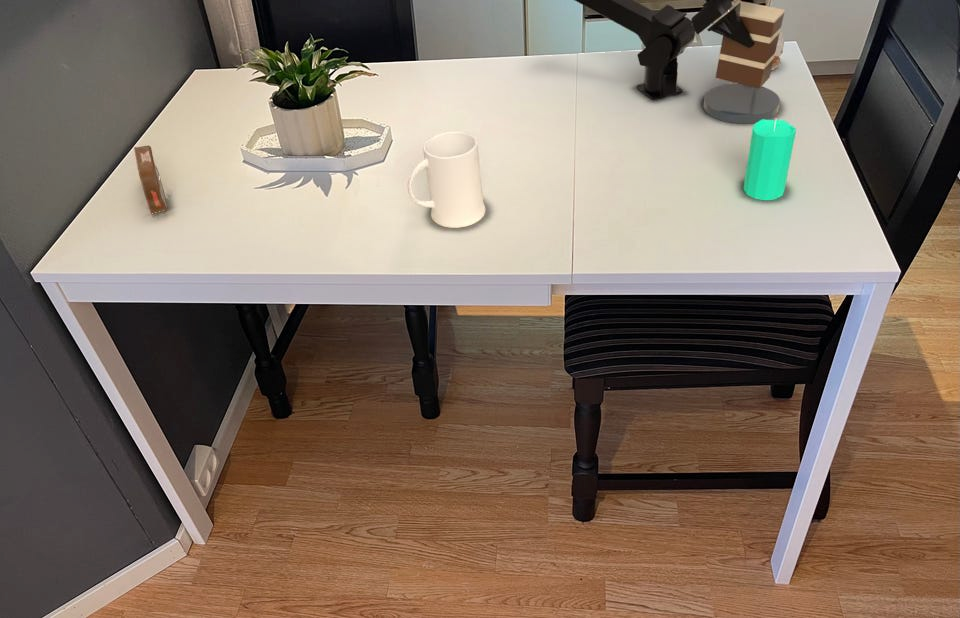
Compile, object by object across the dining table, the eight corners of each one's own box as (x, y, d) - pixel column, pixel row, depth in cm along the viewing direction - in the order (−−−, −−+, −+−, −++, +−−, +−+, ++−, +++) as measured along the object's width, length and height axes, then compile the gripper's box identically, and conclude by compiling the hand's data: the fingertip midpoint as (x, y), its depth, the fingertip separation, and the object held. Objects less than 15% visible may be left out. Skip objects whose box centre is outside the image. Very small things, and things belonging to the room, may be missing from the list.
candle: (786, 201, 118) (800, 128, 111) (744, 199, 120) (755, 127, 112) (782, 180, 123) (796, 109, 115) (742, 178, 124) (753, 108, 116)
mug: (422, 240, 118) (410, 170, 111) (404, 212, 125) (392, 144, 117) (494, 218, 121) (488, 149, 114) (473, 192, 127) (466, 125, 120)
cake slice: (715, 78, 139) (727, 10, 131) (726, 67, 142) (738, 0, 134) (759, 88, 136) (774, 20, 128) (769, 77, 139) (785, 9, 131)
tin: (146, 182, 139) (128, 139, 134) (164, 177, 140) (147, 134, 135) (153, 224, 128) (135, 179, 123) (173, 218, 129) (155, 174, 124)
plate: (689, 100, 146) (690, 93, 145) (749, 85, 149) (750, 77, 148) (730, 130, 136) (731, 122, 135) (794, 112, 139) (795, 104, 138)
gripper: (717, -51, 120) (778, 31, 122) (761, -84, 131) (816, -8, 133) (665, -5, 129) (722, 71, 131) (710, -40, 140) (762, 31, 142)
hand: (757, 40), depth 134 cm, fingers closed on cake slice, 5 cm apart
